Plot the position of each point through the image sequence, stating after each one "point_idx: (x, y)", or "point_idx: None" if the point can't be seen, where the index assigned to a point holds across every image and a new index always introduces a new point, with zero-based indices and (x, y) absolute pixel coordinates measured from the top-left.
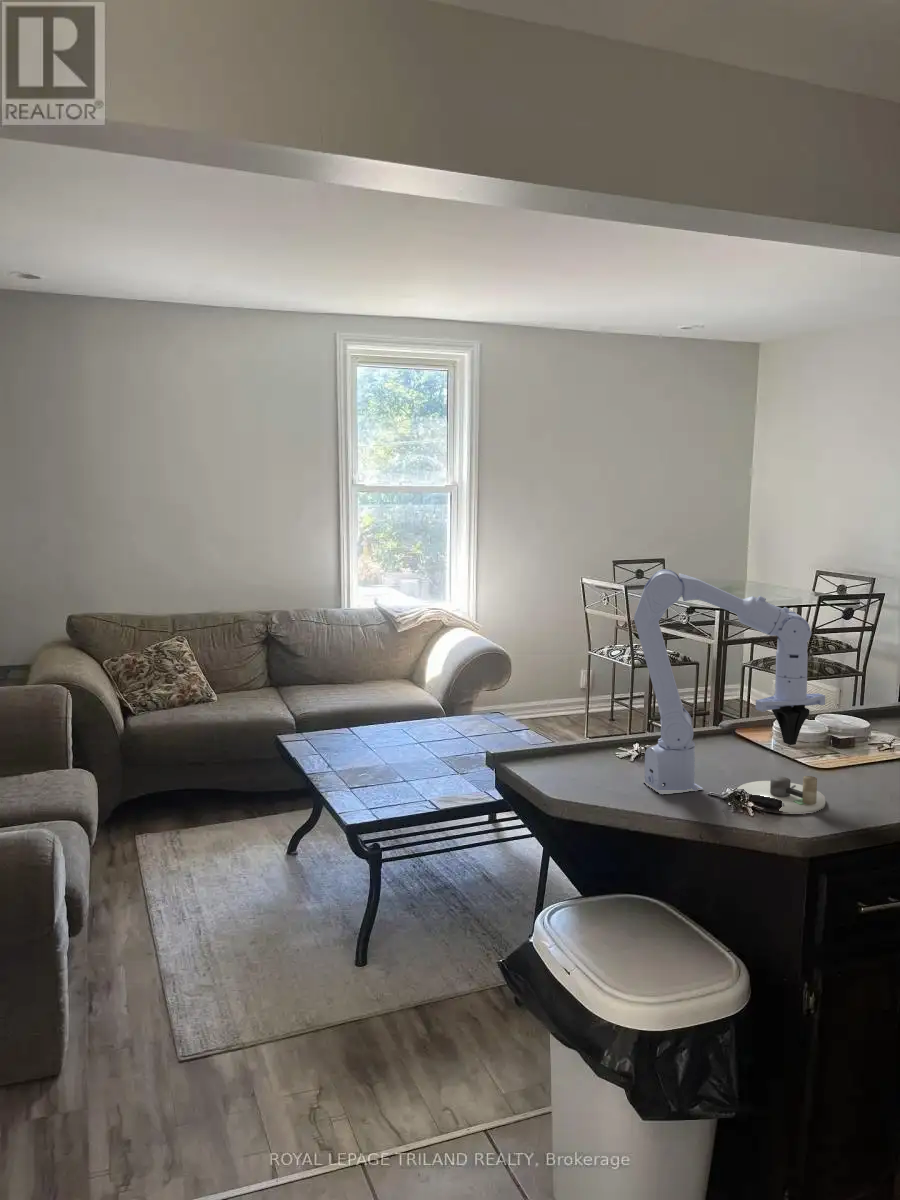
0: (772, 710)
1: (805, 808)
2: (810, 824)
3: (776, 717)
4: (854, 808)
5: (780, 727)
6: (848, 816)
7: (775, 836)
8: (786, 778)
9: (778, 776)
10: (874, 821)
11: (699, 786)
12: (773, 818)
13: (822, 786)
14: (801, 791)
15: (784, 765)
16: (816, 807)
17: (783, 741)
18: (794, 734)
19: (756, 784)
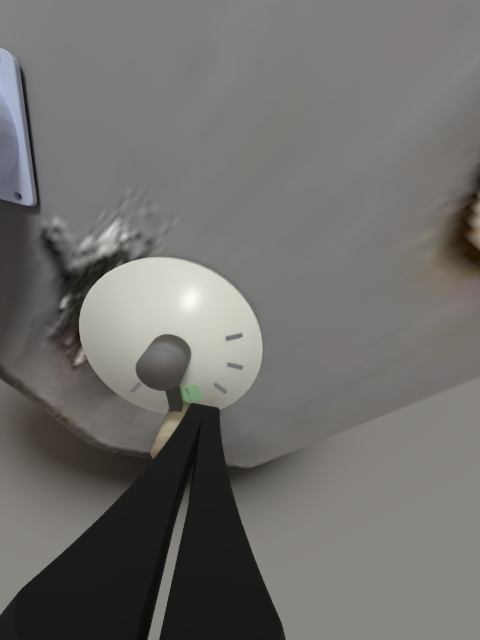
0: (9, 610)
1: (162, 412)
2: (145, 425)
3: (92, 531)
4: (261, 422)
5: (154, 462)
6: (223, 434)
7: (66, 426)
8: (177, 375)
9: (170, 357)
10: (238, 456)
11: (27, 184)
12: (105, 388)
13: (324, 334)
14: (179, 403)
15: (426, 152)
16: None
17: (188, 407)
18: (191, 483)
19: (168, 280)
